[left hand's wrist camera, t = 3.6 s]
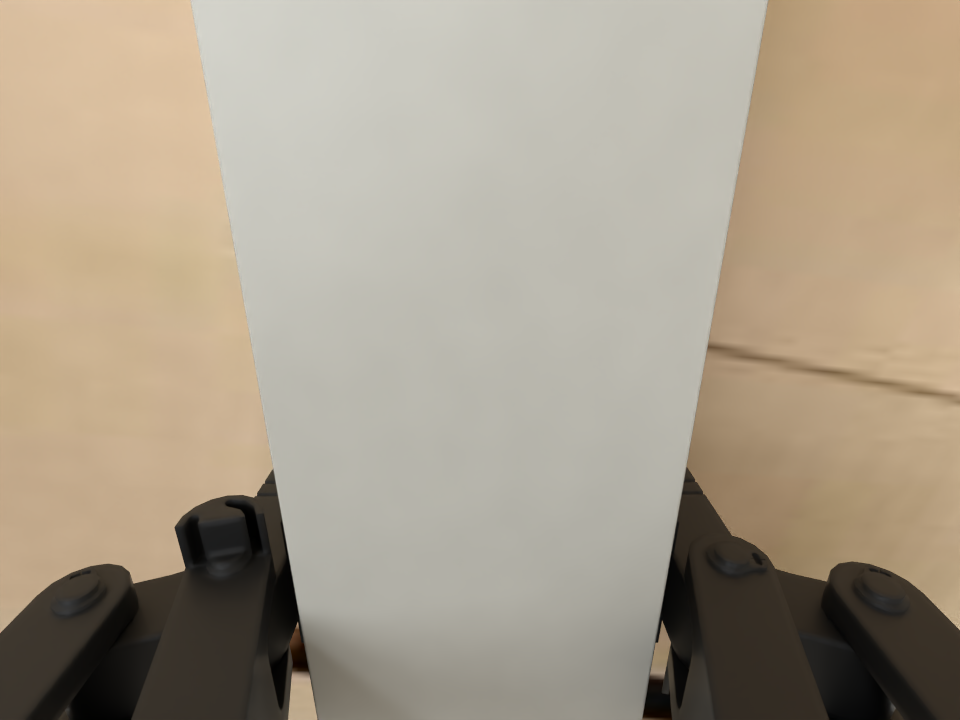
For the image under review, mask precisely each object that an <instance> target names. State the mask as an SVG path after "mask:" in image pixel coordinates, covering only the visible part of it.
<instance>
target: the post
mask: <svg viewBox="0 0 960 720" xmlns="http://www.w3.org/2000/svg"><path fill="white" fill-rule="evenodd" d="M767 5H768V0H191V6H192V11H193V17H194V23H195V28H196V34H197V39H198V45H199V51H200V56H201V62H202V68H203V73H204V79H205V85H206V90H207V96H208V102H209V107H210V113H211V119H212V124H213V130H214V136H215V141H216V147H217V153H218V158H219V164H220V170H221V175H222V181H223V187H224V192H225V198H226V204H227V209H228V215H229V221H230V226H231V232H232V238H233V243H234V249H235V254H236V260H237V266H238V271H239V277H240V283H241V288H242V294H243V300H244V305H245V311H246V317H247V322H248V328H249V334H250V339H251V345H252V351H253V356H254V362H255V368H256V373H257V379H258V385H259V390H260V396H261V402H262V407H263V413H264V419H265V424H266V430H267V436H268V441H269V447H270V453H271V458H272V464H273V469H274V475H275V481H276V486H277V492H278V498H279V503H280V509H281V515H282V520H283V526H284V532H285V537H286V543H287V549H288V554H289V560H290V566H291V571H292V577H293V583H294V588H295V594H296V600H297V605H298V611H299V617H300V622H301V628H302V634H303V639H304V645H305V651H306V656H307V662H308V668H309V673H310V679H311V684H312V690H313V696H314V701H315V707H316V713H317V718H318V720H642V716H643V710H644V705H645V699H646V693H647V688H648V682H649V676H650V671H651V665H652V659H653V654H654V648H655V642H656V636H657V631H658V625H659V619H660V614H661V608H662V602H663V597H664V591H665V585H666V580H667V574H668V568H669V563H670V557H671V551H672V545H673V540H674V534H675V528H676V523H677V517H678V511H679V506H680V500H681V494H682V489H683V483H684V477H685V472H686V466H687V460H688V454H689V449H690V443H691V437H692V432H693V426H694V420H695V415H696V409H697V403H698V398H699V392H700V386H701V381H702V375H703V369H704V364H705V358H706V352H707V346H708V341H709V335H710V329H711V324H712V318H713V312H714V307H715V301H716V295H717V290H718V284H719V278H720V273H721V267H722V261H723V255H724V250H725V244H726V238H727V233H728V227H729V221H730V216H731V210H732V204H733V199H734V193H735V187H736V182H737V176H738V170H739V164H740V159H741V153H742V147H743V142H744V136H745V130H746V125H747V119H748V113H749V108H750V102H751V96H752V91H753V85H754V79H755V74H756V68H757V62H758V56H759V51H760V45H761V39H762V34H763V28H764V22H765V17H766V11H767Z"/></svg>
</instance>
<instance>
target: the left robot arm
mask: <svg viewBox="0 0 960 720" xmlns="http://www.w3.org/2000/svg"><path fill="white" fill-rule="evenodd" d="M175 531H176V534H177V538H178V542H179V545H180V549H181V553H182V556H183V560H184V563H185V567H186V569H185V571H183V572H180V573H176V574H173V575H169V576H165V577H161V578H156V579H152V580H148V581H143V582H139V583H135V584H133V582H132V578H131V575H130V572H129V571H127V570H126V569H125V568H124V567H122V566H119V565H113V564H103V565H96V566H90V567H87V568H84V569H81V570H78V571H76V572H73V573H70V574H69V575H67V576H65V577H63V578H61V579H59V580H58V581H56V582H54V583H52V584H51V585H50V586H49V587H47V588H46V589H45V590H44V591H42V592H41V593H40V594H39V595H37V596H36V597H35V598H34V599H33V600H32V601H31V602H30V603H29V605H28V606H27V607H26V608H25V609H24V610H23V611H22V612H21V613H20V614H19V615H18V616H17V617H16V618H15V619H14V620H13V621H12V622H11V623H10V624H9V625H8V626H7V627H6V628H5V629H4V630H3V631H2V632H1V633H0V720H288V712H289V700H290V688H291V676H292V664H293V663H292V657H291V651H290V646H289V643H290V640H291V638H292V635H293V633H294V630H295V627H296V625H297V622H298V624H299V630H300V636H301V641H302V643H304V639H303V634H302V628H301V622H300V617H299V611H298V605H297V600H296V594H295V588H294V583H293V577H292V571H291V566H290V560H289V554H288V549H287V543H286V537H285V532H284V526H283V520H282V515H281V509H280V503H279V498H278V492H277V486H276V481H275V475H274V469H273V470H272V471H271V473H270V474H269V476H268V477H267V479H266V481H265V484H263V485H262V487H261V488H260V490H259V491H258V493H257V496H255V497H254V498H252V497H248V496H244V495H234V496H225V497H220V498H216V499H212V500H210V501H207V502H205V503H203V504H201V505H199V506H196V507H195V508H193V509H192V510H191V511H189V512H188V513H187V514H185V515H184V516H182V518H181V519H180V520H179V522H178V523H177V525H176V526H175ZM662 621H663V623H664V626H665V628H666V631H667V633H668V636H669V638H670V641H671V646H670V651H669V656H668V661H667V666H666V672H665V677H664V682H663V688H662V693H664V694H668V693H669V688H670V699H671V711H672V720H960V630H959V629H958V628H957V627H956V626H955V625H954V624H953V623H952V622H951V621H950V620H949V619H948V618H947V617H946V616H945V615H944V614H943V613H942V612H941V611H940V610H939V609H938V608H937V607H936V606H935V605H934V604H933V603H932V602H931V601H930V600H929V599H928V598H927V597H926V596H925V595H924V594H923V593H922V592H921V591H920V590H918V589H917V588H916V587H915V586H913V585H912V584H911V583H910V582H909V581H907V580H905V579H903V578H901V577H900V576H898V575H896V574H894V573H892V572H890V571H888V570H885V569H883V568H880V567H877V566H874V565H871V564H865V563H858V562H847V563H840V564H838V565H836V566H835V567H834V568H833V569H832V570H831V571H830V574H829V577H828V580H827V582H826V581H821V580H817V579H813V578H808V577H804V576H799V575H795V574H791V573H787V572H784V571H780V570H777V569H775V568H774V566H773V564H772V563H771V561H770V560H769V558H768V556H767V555H765V554H764V553H763V552H762V551H761V550H760V549H758V548H757V547H756V546H755V545H753V544H751V543H749V542H747V541H745V540H743V539H741V538H738V537H734V536H732V535H731V534H730V532H729V531H728V529H727V528H726V526H725V525H724V523H723V521H722V520H721V518H720V517H719V515H718V514H717V512H716V511H715V509H714V508H713V506H712V505H711V503H710V502H709V500H708V499H707V497H706V496H705V495H703V491H702V489H701V488H700V486H699V485H698V483H697V482H695V479H694V477H693V476H692V474H691V473H690V471H689V470H688V468H687V467H686V472H685V477H684V483H683V489H682V494H681V500H680V506H679V511H678V517H677V523H676V528H675V534H674V540H673V545H672V551H671V557H670V563H669V568H668V574H667V580H666V585H665V591H664V597H663V602H662V608H661V614H660V619H659V625H658V631H657V636H656V642H655V643H658V640H659V634H660V628H661V623H662Z"/></svg>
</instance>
